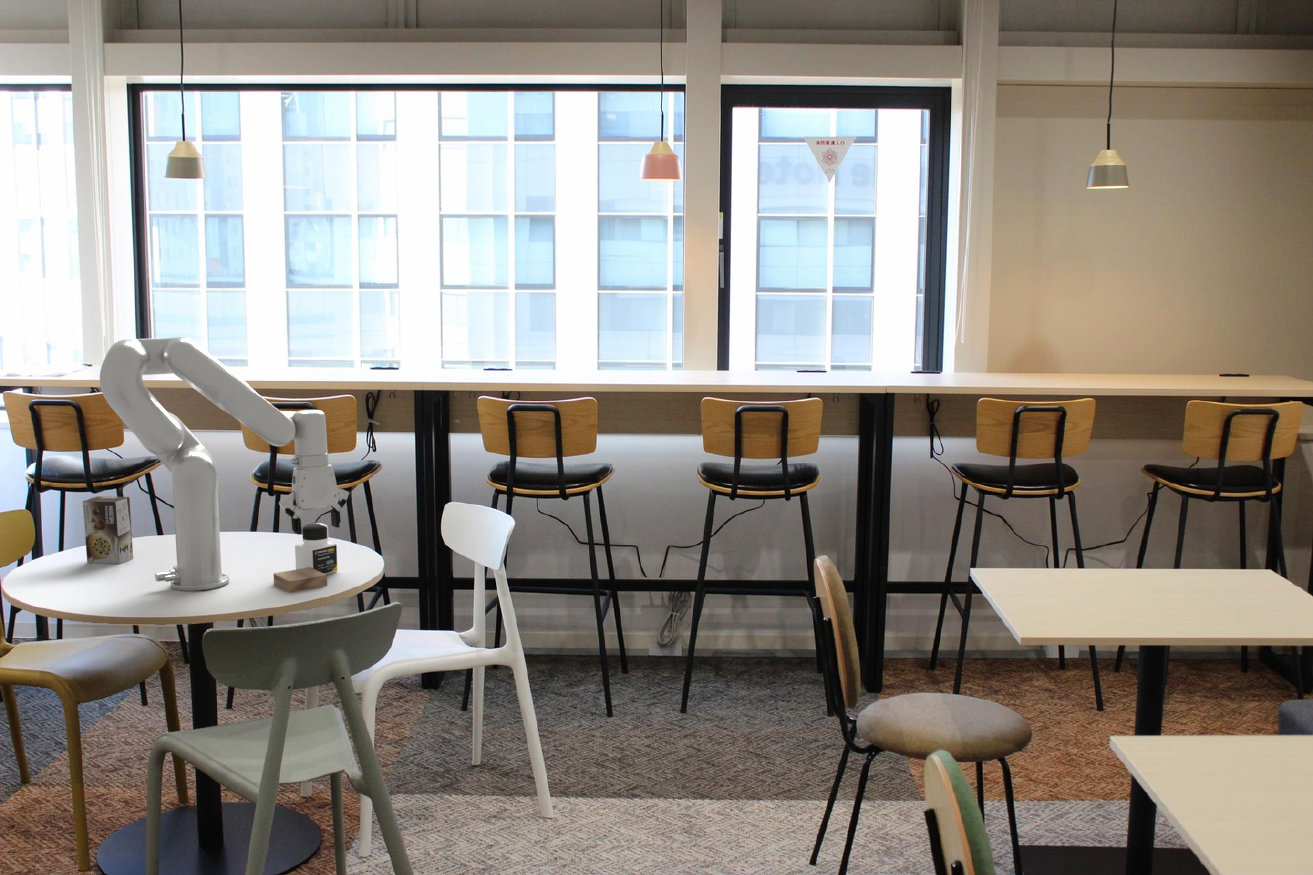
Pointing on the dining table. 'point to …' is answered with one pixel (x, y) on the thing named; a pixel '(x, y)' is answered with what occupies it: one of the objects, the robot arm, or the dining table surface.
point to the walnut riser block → (300, 579)
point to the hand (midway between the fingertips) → (316, 530)
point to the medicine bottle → (316, 549)
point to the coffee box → (108, 529)
